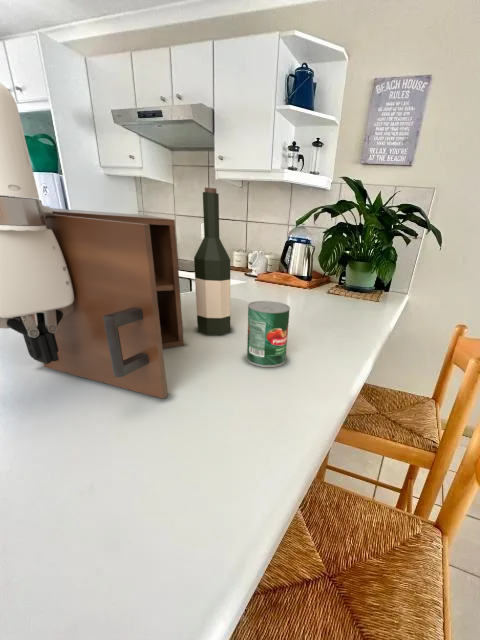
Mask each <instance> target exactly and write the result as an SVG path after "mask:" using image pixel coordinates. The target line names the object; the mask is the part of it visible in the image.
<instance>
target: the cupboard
mask: <svg viewBox="0 0 480 640" xmlns="http://www.w3.org/2000/svg"><path fill="white" fill-rule="evenodd" d="M50 208H51V210H52V212H53V214H55V215H64V216H73V217H83V218H92V219H102V220H111V221H121V222H130V223H139V224H149V226H150V236H151V245H152V254H153V264H154V273H155V282H156V292H157V301H158V311H159V320H160V329H161V339H162V348H163V349H167V348H174V347H182V346H185V342H184V339H185V338H184V327H183V313H182V300H181V289H180V288H181V287H180V285H181V284H180V272H179V260H178V248H177V247H178V246H177V233H176V232H177V231H176V230H177V229H176V220H175V219H172V218H167V217H160V216H154V215H150V214H149V215H148V214H138V213H137V214H136V213H135V214H134V213H120V212H111V211H110V212H108V211H95V210H82V209H81V210H80V209H69V208H54V207H50Z"/></svg>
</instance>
